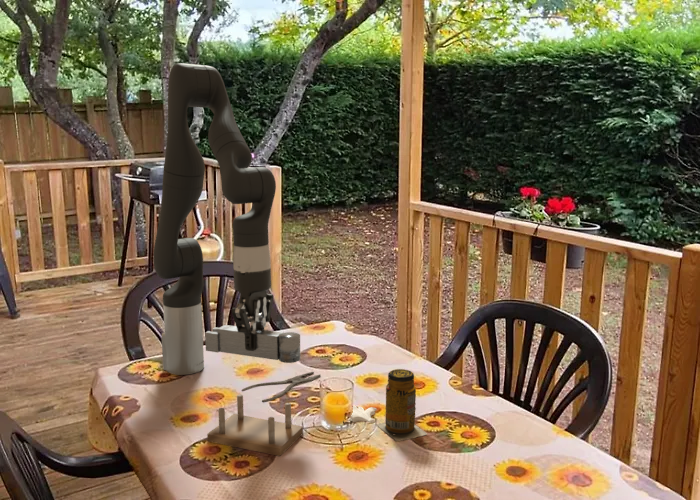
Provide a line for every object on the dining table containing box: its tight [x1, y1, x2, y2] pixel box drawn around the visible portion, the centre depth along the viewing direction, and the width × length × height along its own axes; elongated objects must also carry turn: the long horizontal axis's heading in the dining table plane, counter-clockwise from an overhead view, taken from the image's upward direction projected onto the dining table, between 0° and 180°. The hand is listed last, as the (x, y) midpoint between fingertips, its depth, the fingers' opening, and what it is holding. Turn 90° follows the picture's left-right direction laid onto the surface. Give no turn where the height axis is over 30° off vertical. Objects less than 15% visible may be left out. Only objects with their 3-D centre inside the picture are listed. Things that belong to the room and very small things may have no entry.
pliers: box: [241, 371, 321, 403], centre depth 162 cm, size 10×1×20 cm
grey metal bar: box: [204, 324, 301, 364], centre depth 141 cm, size 21×4×5 cm, turn 69°
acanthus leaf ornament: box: [351, 404, 378, 424], centre depth 145 cm, size 8×7×2 cm
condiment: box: [376, 368, 428, 442], centre depth 138 cm, size 7×8×12 cm
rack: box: [206, 394, 304, 457], centre depth 135 cm, size 16×10×6 cm, turn 68°
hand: (255, 347), depth 141 cm, fingers closed on grey metal bar, 3 cm apart
